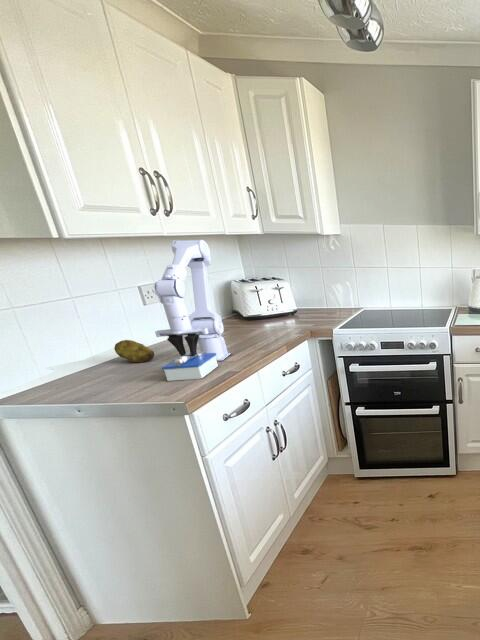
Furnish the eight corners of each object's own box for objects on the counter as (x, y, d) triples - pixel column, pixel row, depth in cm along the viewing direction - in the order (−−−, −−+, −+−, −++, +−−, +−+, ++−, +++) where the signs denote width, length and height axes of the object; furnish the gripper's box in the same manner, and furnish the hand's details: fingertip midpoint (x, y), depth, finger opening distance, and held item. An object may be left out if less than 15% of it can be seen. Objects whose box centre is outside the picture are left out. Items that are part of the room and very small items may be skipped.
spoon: (192, 354, 149) (190, 347, 149) (207, 353, 151) (205, 346, 150) (170, 367, 135) (168, 359, 134) (187, 366, 136) (185, 358, 135)
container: (186, 368, 150) (182, 355, 148) (219, 365, 153) (215, 352, 151) (165, 381, 137) (161, 367, 135) (202, 378, 139) (198, 364, 138)
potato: (133, 366, 153) (125, 345, 150) (115, 361, 158) (107, 341, 155) (158, 360, 160) (152, 340, 157) (141, 356, 165) (134, 336, 162)
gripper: (145, 320, 132) (158, 360, 137) (197, 317, 136) (208, 357, 141) (157, 316, 139) (169, 354, 144) (206, 313, 142) (216, 351, 147)
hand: (189, 355), depth 143 cm, fingers closed on spoon, 2 cm apart
